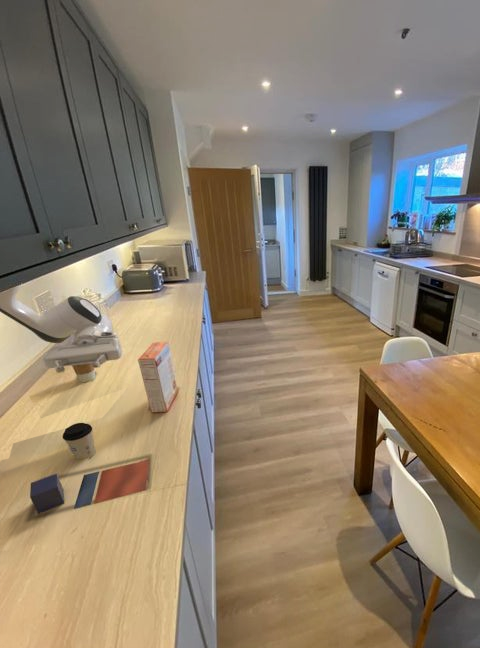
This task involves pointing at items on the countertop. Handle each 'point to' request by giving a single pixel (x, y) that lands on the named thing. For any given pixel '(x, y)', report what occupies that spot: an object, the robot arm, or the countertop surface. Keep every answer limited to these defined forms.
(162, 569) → the countertop surface
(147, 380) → the cracker box
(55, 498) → the navy block
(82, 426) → the coffee cup
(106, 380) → the countertop surface
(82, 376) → the coffee cup
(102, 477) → the sorting board
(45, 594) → the countertop surface
